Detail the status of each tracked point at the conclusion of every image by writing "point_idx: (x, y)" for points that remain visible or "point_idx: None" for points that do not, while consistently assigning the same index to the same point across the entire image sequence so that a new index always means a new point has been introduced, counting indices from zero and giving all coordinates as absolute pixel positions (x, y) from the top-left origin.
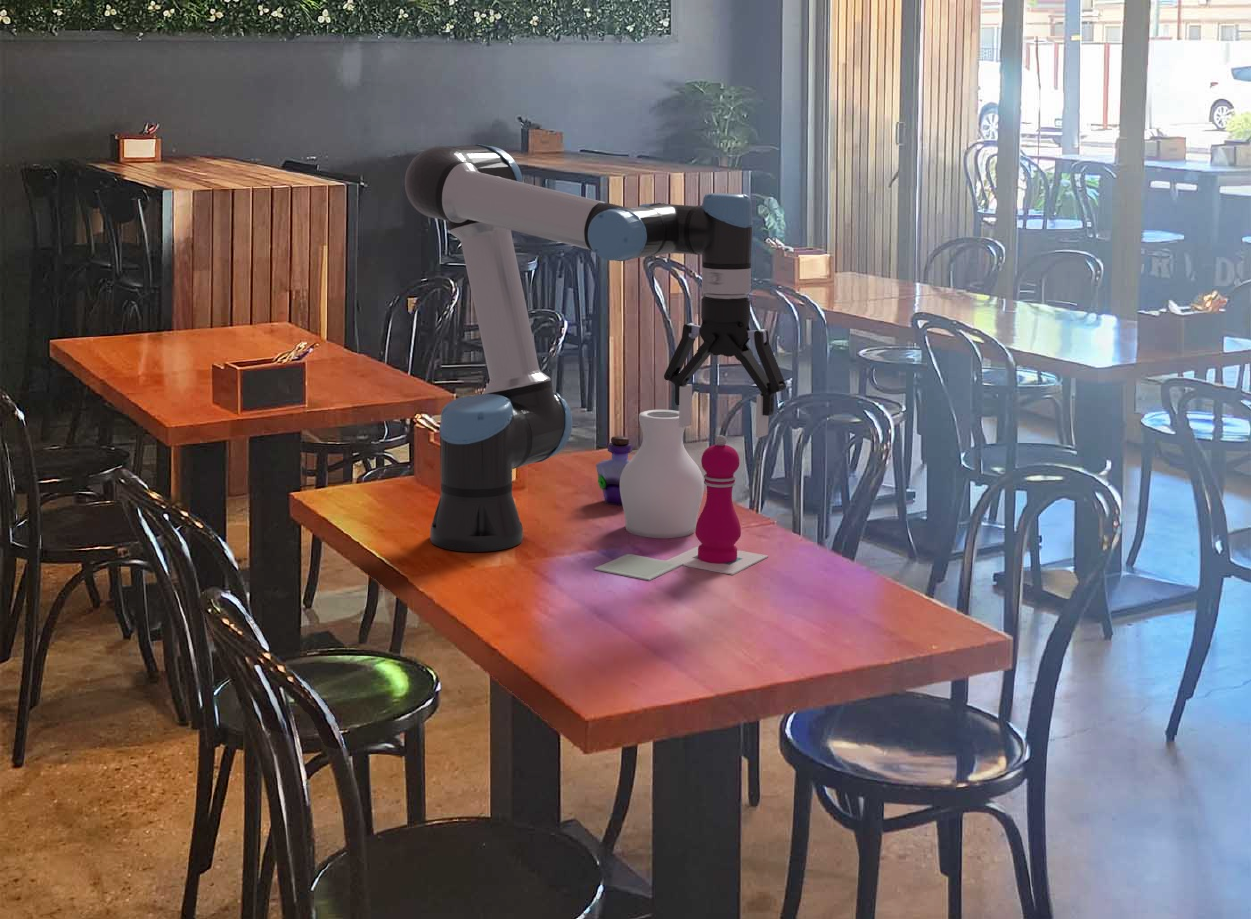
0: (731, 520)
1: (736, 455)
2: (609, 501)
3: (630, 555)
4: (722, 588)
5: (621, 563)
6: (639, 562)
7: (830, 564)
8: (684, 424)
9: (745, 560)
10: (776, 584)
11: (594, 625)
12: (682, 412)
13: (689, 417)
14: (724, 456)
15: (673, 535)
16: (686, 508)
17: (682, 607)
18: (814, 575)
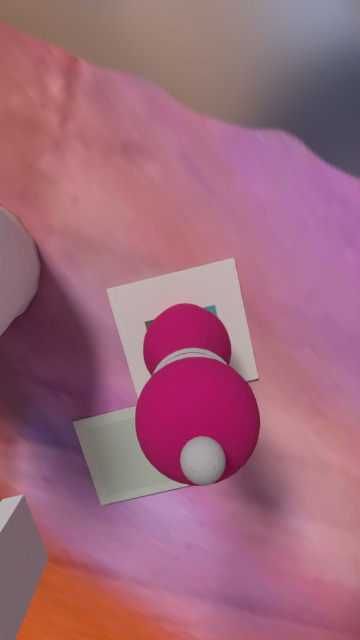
0: (228, 362)
1: (255, 413)
2: None
3: (82, 426)
4: (289, 434)
5: (108, 464)
6: (121, 442)
7: (336, 206)
8: (40, 559)
9: (226, 310)
10: (335, 363)
11: (272, 632)
12: (13, 635)
13: (11, 542)
14: (245, 462)
15: (35, 292)
16: (25, 278)
17: (303, 525)
18: (352, 281)
